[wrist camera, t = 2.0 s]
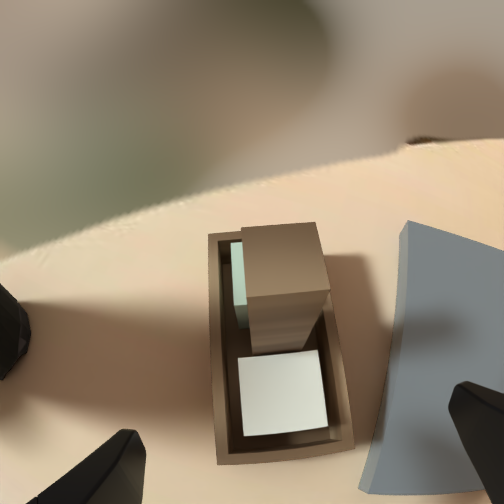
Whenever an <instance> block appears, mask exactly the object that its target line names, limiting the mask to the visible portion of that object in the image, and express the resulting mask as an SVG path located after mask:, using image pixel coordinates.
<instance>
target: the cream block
mask: <svg viewBox="0 0 504 504" xmlns="http://www.w3.org/2000/svg"><path fill="white" fill-rule="evenodd" d="M238 366H239V380H240V394H241V407H242V419H243V432H244V436H253V435H265V434H276V433H285V432H293V431H300V430H307V429H314V428H320V427H326V426H328V423H327V415H326V407H325V399H324V392H323V384H322V377H321V370H320V363H319V356H318V350H313V351H305V352H297V353H288V354H278V355H268V356H257V357H245V358H238Z"/></svg>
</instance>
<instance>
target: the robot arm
mask: <svg viewBox="0 0 504 504" xmlns="http://www.w3.org/2000/svg"><path fill="white" fill-rule="evenodd" d="M448 411H449V414H450V416H451V418H452V420H453V423H454V425H455V428H456V430H457V432H458V435H459V437H460V440H461V442H462V444H463V447H464V449H465V451H466V453H467V455H468V457H469V459H470V460H471V462H472V464H473V466H474V468H475V470H476V472H477V474H478V476H479V478H480V480H481V482H482V484H483V486H484V488H485V490H486V492H487V494H488V496H489V498H490V500H491V503H492V504H504V393H501V392H498V391H495V390H492V389H489V388H487V387H484V386H481V385H478V384H475V383H473V382H470V381H463V382H461V383H458V384H456V385H455V387H454V389H453V392H452V395H451V398H450V401H449V404H448ZM145 463H146V450H145V447H144V445H143V443H142V441H141V438H140V436H139V434H138V432H137V431H136V430H133V429H121V430H119V431H118V432H117V433H116V434H115V435H113V436H112V437H111V438H110V439H109V440H107V441H106V442H105V443H104V444H102V445H101V446H100V447H99V448H98V449H96V450H95V451H94V452H93V453H91V454H90V455H89V456H88V457H86V458H85V459H84V460H83V461H81V462H80V463H79V464H78V465H76V466H75V467H74V468H73V469H71V470H70V471H69V472H67V473H66V474H65V475H64V476H62V477H61V478H60V479H58V480H57V481H56V482H55V483H53V484H52V485H51V486H49V487H48V488H47V489H45V490H44V491H43V492H41V493H40V494H39V495H38V497H34V498H33V499H32V500H30V501H29V502H28V503H26V504H142V497H143V485H144V474H145Z"/></svg>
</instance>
